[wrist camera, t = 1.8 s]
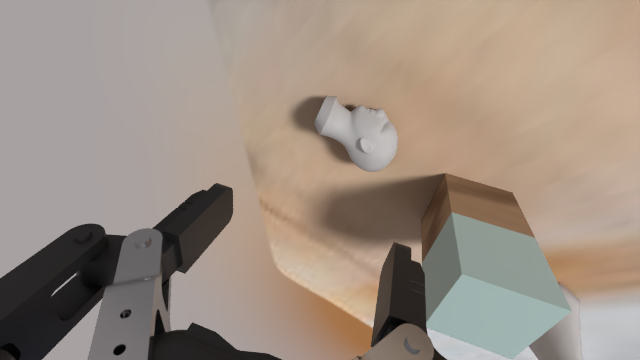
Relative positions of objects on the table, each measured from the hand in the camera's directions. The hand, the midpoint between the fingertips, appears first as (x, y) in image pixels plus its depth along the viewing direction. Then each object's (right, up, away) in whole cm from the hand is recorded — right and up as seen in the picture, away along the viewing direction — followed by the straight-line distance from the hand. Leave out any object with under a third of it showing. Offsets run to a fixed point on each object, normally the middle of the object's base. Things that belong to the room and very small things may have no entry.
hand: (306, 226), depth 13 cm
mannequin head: (+5, +8, +13) cm, 16 cm away
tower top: (+13, -4, +9) cm, 16 cm away
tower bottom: (+15, 0, +14) cm, 20 cm away
